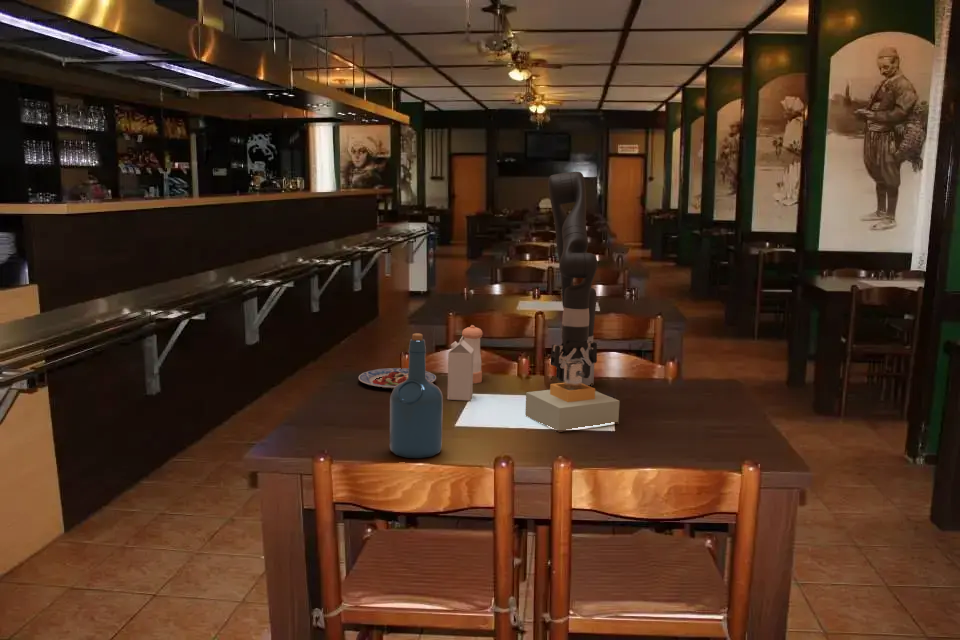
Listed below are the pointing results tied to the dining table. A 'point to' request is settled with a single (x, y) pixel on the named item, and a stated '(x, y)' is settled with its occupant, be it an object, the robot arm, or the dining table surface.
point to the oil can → (573, 375)
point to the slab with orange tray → (571, 407)
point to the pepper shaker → (473, 339)
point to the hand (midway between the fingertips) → (573, 379)
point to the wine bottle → (416, 409)
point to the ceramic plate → (389, 377)
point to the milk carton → (460, 371)
